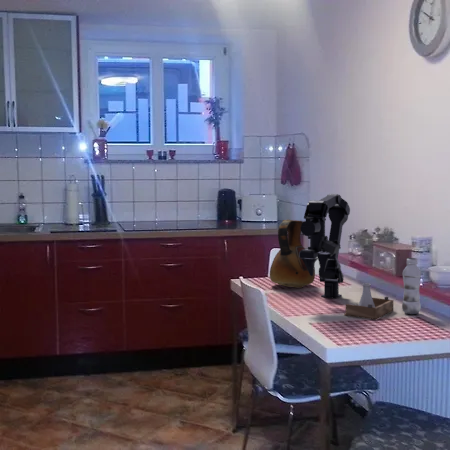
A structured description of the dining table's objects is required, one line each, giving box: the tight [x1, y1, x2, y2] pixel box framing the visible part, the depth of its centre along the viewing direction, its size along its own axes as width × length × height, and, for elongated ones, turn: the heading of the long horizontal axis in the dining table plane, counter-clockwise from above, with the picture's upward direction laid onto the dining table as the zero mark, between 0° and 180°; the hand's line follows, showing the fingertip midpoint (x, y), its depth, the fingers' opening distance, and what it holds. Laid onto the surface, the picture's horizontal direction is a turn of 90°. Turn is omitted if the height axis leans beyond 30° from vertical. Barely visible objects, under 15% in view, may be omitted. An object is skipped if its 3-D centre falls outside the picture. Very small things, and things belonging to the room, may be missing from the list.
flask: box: [358, 282, 375, 308], centre depth 229 cm, size 7×7×10 cm
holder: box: [343, 296, 395, 321], centre depth 229 cm, size 16×12×5 cm
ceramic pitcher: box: [269, 218, 316, 289], centre depth 278 cm, size 20×20×30 cm
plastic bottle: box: [401, 257, 422, 315], centre depth 226 cm, size 6×7×20 cm
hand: (317, 273), depth 242 cm, fingers open, 9 cm apart
